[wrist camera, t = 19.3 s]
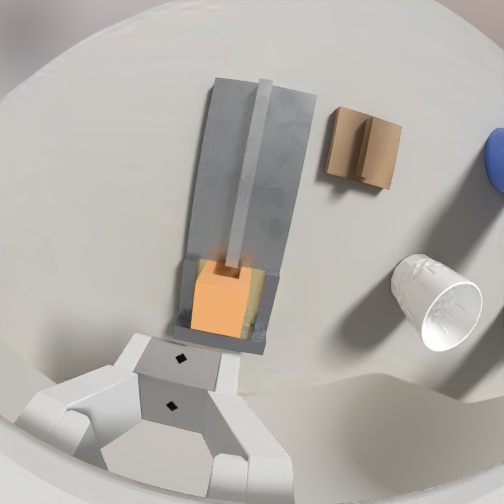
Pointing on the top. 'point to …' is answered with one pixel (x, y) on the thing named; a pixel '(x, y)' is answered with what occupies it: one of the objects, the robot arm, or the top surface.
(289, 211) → the rail
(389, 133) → the pad
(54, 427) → the robot arm
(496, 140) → the water bottle
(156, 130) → the top surface
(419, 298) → the white cup
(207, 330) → the orange notched block
